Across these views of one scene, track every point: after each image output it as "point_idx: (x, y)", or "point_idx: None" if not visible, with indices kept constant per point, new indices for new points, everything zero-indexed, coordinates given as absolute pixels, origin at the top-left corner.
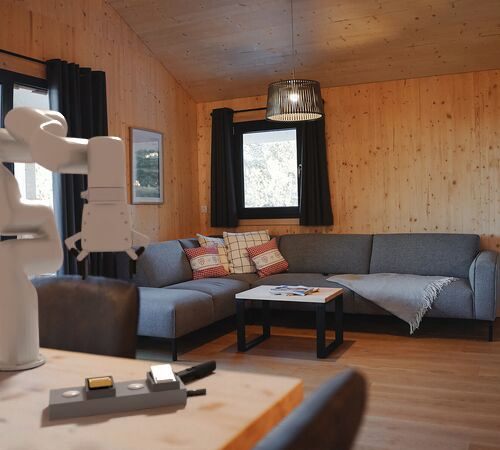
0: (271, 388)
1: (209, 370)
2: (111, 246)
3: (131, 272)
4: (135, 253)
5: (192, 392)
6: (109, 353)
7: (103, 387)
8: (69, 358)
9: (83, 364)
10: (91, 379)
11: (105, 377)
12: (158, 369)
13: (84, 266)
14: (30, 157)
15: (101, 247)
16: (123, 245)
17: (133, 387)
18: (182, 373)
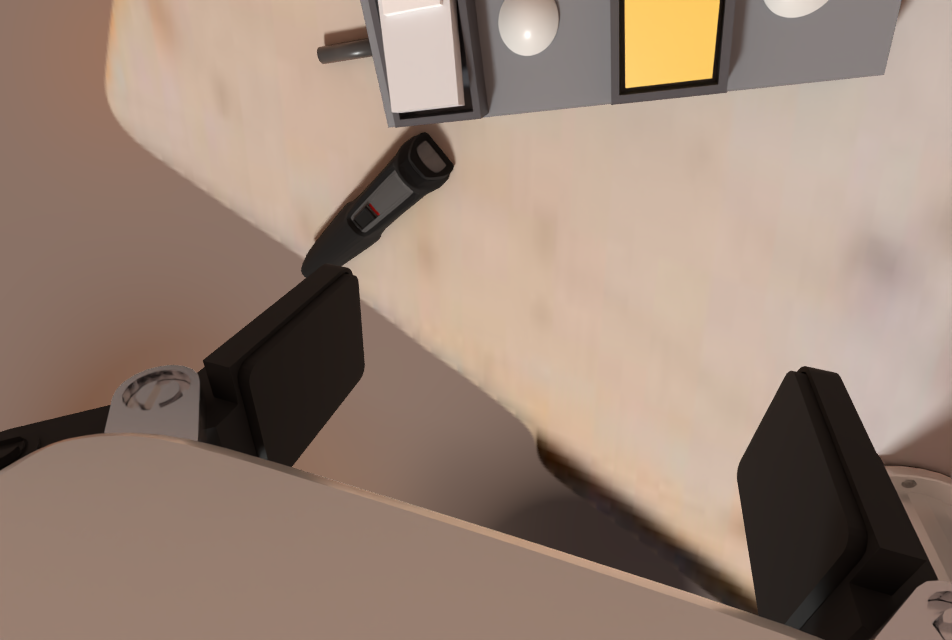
0: (157, 52)
1: (322, 234)
2: (314, 564)
3: (307, 289)
4: (111, 422)
5: (357, 41)
6: (596, 498)
7: None
8: (714, 505)
9: (679, 442)
10: (703, 49)
11: (639, 83)
12: (430, 71)
13: (844, 481)
14: None
15: (549, 625)
16: (78, 501)
17: (536, 2)
18: (384, 189)
